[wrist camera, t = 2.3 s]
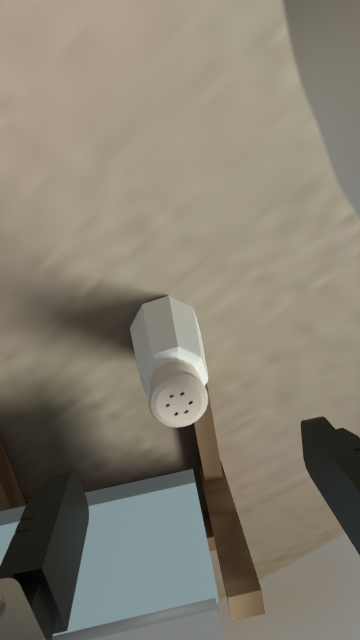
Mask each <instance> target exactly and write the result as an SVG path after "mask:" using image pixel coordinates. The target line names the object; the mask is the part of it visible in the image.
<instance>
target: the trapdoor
mask: <svg viewBox="0 0 360 640" xmlns="http://www.w3.org/2000/svg"><path fill="white" fill-rule="evenodd" d="M85 496H86V499H87V502H88V507H89V522H88V528H87V533H86V538H85V543H84V548H83V553H82V558H81V563H80V569H79V574H78V579H77V584H76V589H75V594H74V599H73V604H72V609H71V614H70V620H69V625H68V630H67V631H65V632H61V633H56V634H53V636H52V640H224V636H223V631H222V626H221V620H220V615H219V610H218V604H217V603H220V601H219V596H218V591H217V586H216V581H215V576H214V571H213V566H212V561H211V556H210V551H209V546H208V541H207V537H206V532H205V527H204V522H203V517H202V512H201V507H200V502H199V497H198V492H197V487H196V482H195V477H194V472H193V469H191V470H186V471H181V472H177V473H172V474H168V475H163V476H159V477H154V478H150V479H145V480H140V481H136V482H131V483H127V484H122V485H118V486H113V487H109V488H104V489H100V490H95V491H90V492H86V493H85ZM25 507H26V506H22V507H18V508H13V509H9V510H4V511H0V565H1V563H2V561H3V558H4V556H5V554H6V551H7V549H8V547H9V544H10V542H11V539H12V537H13V535H14V534H15V530H16V528H17V525H18V523H19V522H20V518H21V516H22V514H23V511H24V509H25Z"/></svg>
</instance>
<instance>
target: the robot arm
mask: <svg viewBox="0 0 360 640" xmlns="http://www.w3.org/2000/svg"><path fill="white" fill-rule="evenodd" d="M301 434H302V446H303V458H304V462H305V466H306V468H307V471H308V473H309V475H310V477H311V478H312V480H313V482H314V483H315V485H316V486H317V488H318V490H319V491H320V493H321V494H322V496H323V497H324V499H325V501H326V502H327V504H328V505H329V507H330V509H331V510H332V512H333V513H334V515H335V517H336V518H337V520H338V521H339V523H340V525H341V526H342V528H343V529H344V531H345V532H346V534H347V535H348V537H349V539H350V540H351V542H352V544H353V545H354V546H355V548H356V550H357V551H358V553H359V555H360V438H359V437H358V436H357V435H355V434H353V433H351V432H349V431H348V430H346V429H344V428H340V429H335V428H334V427H333V426H332V425H331V424H330V423H329V422H328V420H327V419H326V418H325V417H317V418H313V419H308V420H303V421H302V422H301ZM88 522H89V507H88V502H87V499H86V496H85V492H84V489H83V486H82V483H81V480H80V477H79V474H78V471H77V469H76V468H70V469H65V470H60V471H55V472H52V474H51V475H50V478H49V481H48V483H47V486H46V488H45V490H42V491H37V493H36V494H35V495H34V496H33V497H32V499H31V500H30V501H29V502H28V503H27V505H26V507H25V509H24V511H23V514H22V516H21V518H20V522H19V523H18V525H17V528H16V530H15V534H14V535H13V537H12V539H11V542H10V544H9V547H8V549H7V551H6V554H5V556H4V558H3V561H2V563H1V565H0V640H52V636H53V634H56V633H61V632H65V631H67V630H68V625H69V620H70V614H71V609H72V604H73V599H74V594H75V589H76V584H77V579H78V574H79V569H80V563H81V558H82V553H83V548H84V543H85V538H86V533H87V528H88Z"/></svg>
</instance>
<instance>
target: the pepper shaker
mask: <svg viewBox="0 0 360 640" xmlns="http://www.w3.org/2000/svg"><path fill="white" fill-rule="evenodd" d="M130 332H131V337H132V342H133V347H134V352H135V358H136V363H137V368H138V372H139V375H140V379H141V382H142V385H143V387H144V390H145V393H146V395H147V397H148V399H149V408H150V411H151V414H152V415H153V416H154V418H155V419H156V420H157V421H159V422H160V423H161V424H164V425H166V426H170V427H184V426H187V425H190V424H192V423H194V422H196V421H197V420H198V419H199V418H200V417H201V416H202V415H203V414H204V412H205V410H206V408H207V404H208V394H207V391H206V388H205V385H206V383H207V381H208V373H207V367H206V361H205V355H204V350H203V344H202V338H201V332H200V329H199V326H198V322H197V319H196V316H195V312H194V309H193V308H192V307H190V306H188V305H186V304H184V303H182V302H180V301H178V300H176V299H175V298H173V297H171V296H166V297H163V298H160V299H157V300H154V301H150V302H147V303H144V304H142V305H141V307H140V309H139V311H138V313H137V315H136V317H135V319H134V321H133V323H132V325H131V327H130Z"/></svg>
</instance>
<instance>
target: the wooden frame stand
mask: <svg viewBox="0 0 360 640" xmlns="http://www.w3.org/2000/svg"><path fill="white" fill-rule="evenodd" d="M205 388H206V391H207V394H208V404H207V408H206V410H205V412H204V414H203V415H202V416H201V417H200V418H199V419H198V420H197V421H196V422H194V423H193V424H194V429H195V434H196V439H197V444H198V449H199V455H200V460H201V465H200V466H199V470H200V475H201V480H202V485H203V489H204V494H205V499H206V503H207V508H208V513H209V517H210V518H206V519H203V522H204V527H205V532H206V537H207V541H208V546H209V551H211V550H216V549H217V554H218V559H219V563H220V568H221V572H222V577H223V582H224V586H225V591H226V595H227V600H228V605H229V609H230V613H231V619H232V621H236V620H240V619H244V618H248V617H252V616H257V615H261V614H265V611H264V605H263V598H262V591H261V587H260V584H259V581H258V578H257V574H256V571H255V568H254V565H253V562H252V559H251V555H250V552H249V549H248V546H247V543H246V539H245V536H244V533H243V530H242V527H241V523H240V520H239V517H238V514H237V511H236V508H235V504H234V501H233V498H232V495H231V492H230V488H229V485H228V482H227V479H226V476H225V473H224V469H223V466H222V463H221V461H220V457H219V451H218V446H217V440H216V434H215V428H214V422H213V416H212V411H211V405H210V399H209V393H208V387H207V383H206V385H205ZM26 505H27V504H26V503H25V500H24V498H23V495H22V493H21V490H20V488H19V485H18V482H17V480H16V477H15V475H14V472H13V470H12V467H11V465H10V462H9V460H8V457H7V455H6V452H5V450H4V447H3V445H2V442H1V440H0V511H4V510H9V509H13V508H18V507H22V506H26Z"/></svg>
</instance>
